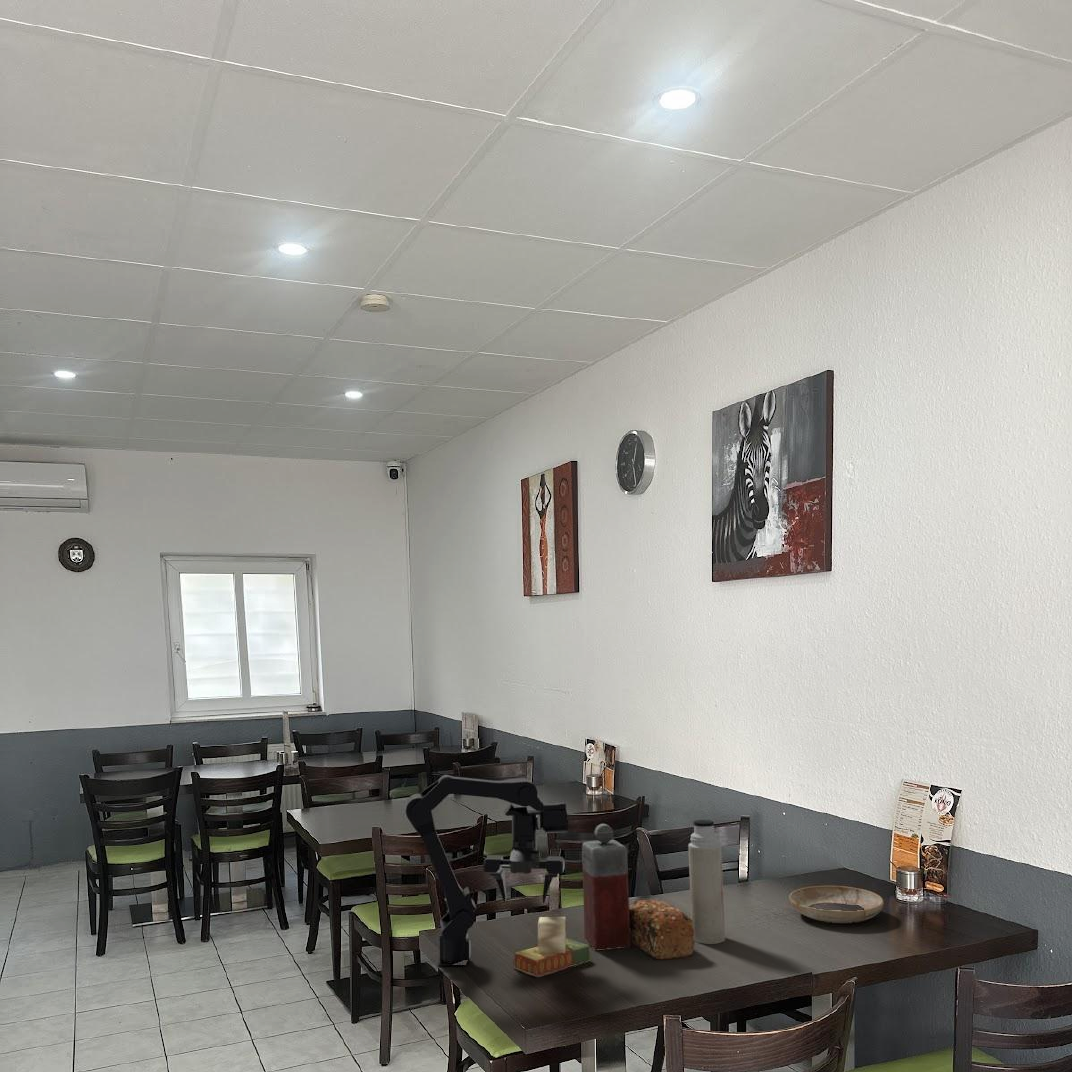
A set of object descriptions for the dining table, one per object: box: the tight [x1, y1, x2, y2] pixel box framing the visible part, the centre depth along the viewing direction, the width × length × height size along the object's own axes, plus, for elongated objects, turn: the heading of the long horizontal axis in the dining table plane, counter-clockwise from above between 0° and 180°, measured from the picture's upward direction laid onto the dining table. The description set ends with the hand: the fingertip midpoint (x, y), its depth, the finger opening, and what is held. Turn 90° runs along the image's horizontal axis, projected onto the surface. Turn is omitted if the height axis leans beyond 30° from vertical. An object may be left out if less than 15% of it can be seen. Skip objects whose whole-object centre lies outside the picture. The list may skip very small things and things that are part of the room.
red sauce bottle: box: [581, 823, 631, 950], centre depth 231 cm, size 9×11×28 cm
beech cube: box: [537, 916, 567, 953], centre depth 215 cm, size 6×6×6 cm
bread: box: [629, 898, 695, 960], centre depth 226 cm, size 19×11×10 cm, turn 17°
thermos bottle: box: [688, 819, 726, 945], centre depth 231 cm, size 8×8×28 cm
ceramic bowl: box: [788, 885, 885, 924], centre depth 246 cm, size 23×24×5 cm
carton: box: [513, 937, 592, 975], centre depth 214 cm, size 8×16×4 cm, turn 130°
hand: (524, 902), depth 222 cm, fingers open, 9 cm apart
